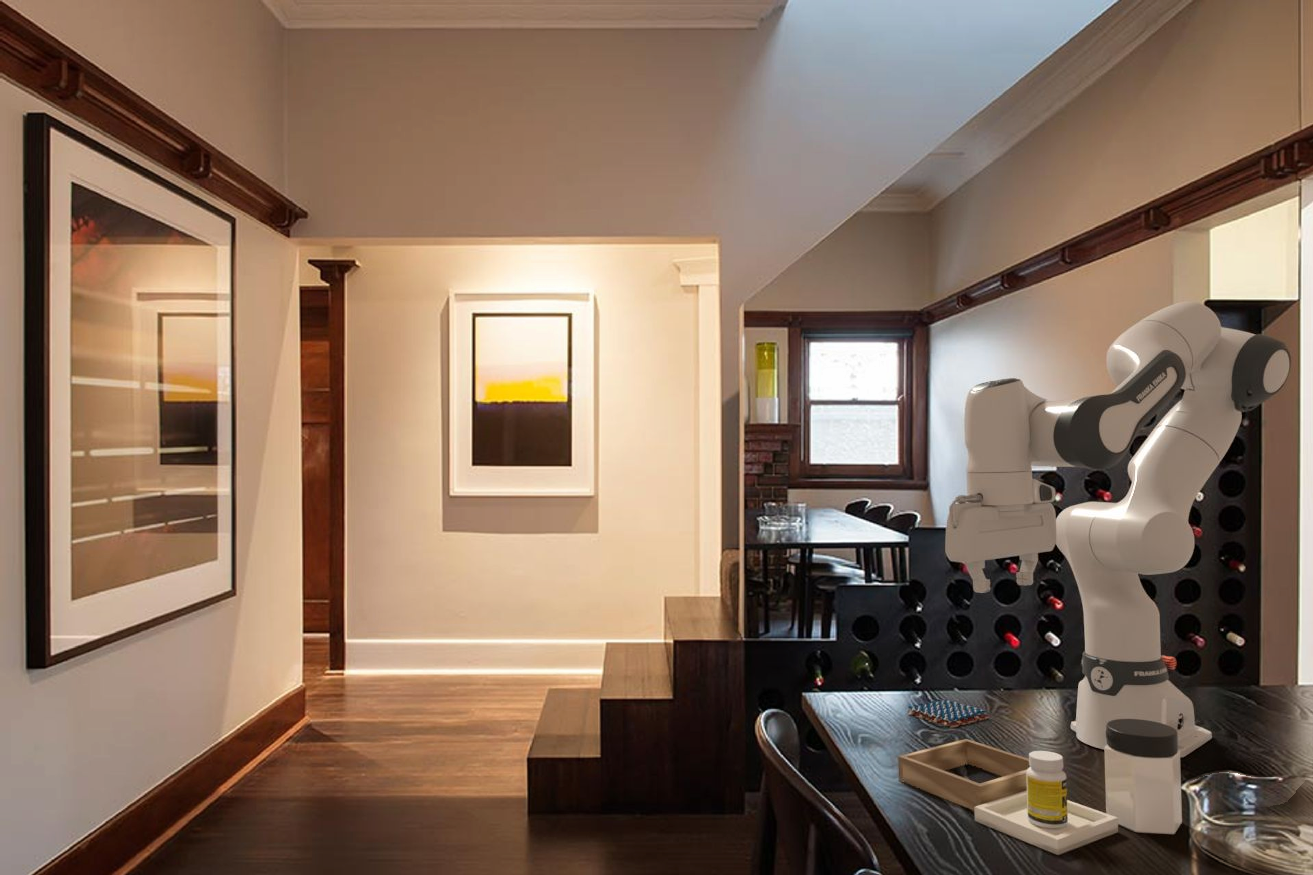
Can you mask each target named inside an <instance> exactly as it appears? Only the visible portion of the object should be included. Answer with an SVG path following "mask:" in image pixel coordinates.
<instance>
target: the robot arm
mask: <svg viewBox="0 0 1313 875" xmlns="http://www.w3.org/2000/svg"><path fill="white" fill-rule="evenodd" d="M1105 361H1106V362H1105V364H1106V369H1107V373H1108V376H1109V377H1110V379H1111V381H1112V382H1113V384H1114V385H1115V386H1116V387H1115V389H1113V390H1112V391H1111V392H1109V393H1107V394H1099V395H1092V396H1091V395H1090V396H1087V397H1086V396H1085V397H1081V398H1073V399H1072V398H1068V399H1061V400H1059V399H1058V400H1048V399H1047V398H1044V397H1041V396H1039V395H1037V394H1035V393H1034V392H1032V391H1030V390H1029V388H1027V387H1026V386H1025V385H1024V383H1023V380H1021V379H1020V378H1015V377H1011V378H1001V379H998V380H991V381H990V380H989V381H986V382H982V383H979V384H976V385H974V386H972V387H971V389H969V391H968V393H967V395H966V400H965V406H964V420H963V421H964V425H963V426H964V428H963V429H964V444H965V447H966V449H967V455H968V458H967V459H968V460H967V464H966V470H965V471H966V492H967V493H966V494H967V495H965V494H960V495H957V496H956V497H955V499H954V500H952V502H951V503H950V505H949V506H948V507H949V508H948V515H947V519H946V524H945V526H946V527H945V539H944V540H945V541H944V542H945V543H944V544H945V545H944V546H945V548H944V549H945V552H944V553H945V554H946V557H947V558H948V560H949V561H950V562H955V563H965V569H966V571H967V572H968V574H969V576H970V578H971V579H972V588H973V591H974V592H975V593H980V594H984V593H988V592H990V591H991V586H990V585H991V579H988V578H986V575H985V573H984V571H983V569H985V568H986V563H985V562H986V561H990V560H996V559H1003V558H1004V559H1005V558H1010V557H1018V556H1019V561H1021V565H1020V568H1019V571H1018V572H1015V576H1016V577H1015V578H1016V580H1015V581H1016V583H1017V584H1016V585H1018V586H1031V585H1032V586H1033V584H1034V572H1035V570H1036V566H1037V564H1038V562H1039V554H1040V553H1047V552H1052V551H1054V548H1055V546H1057V548H1058V549H1059V551H1060V552H1061V553H1062V555H1063V556H1064V557H1065V558H1066V560H1067V562H1068V564H1069V566H1070V568H1071V571H1072V573H1073V577H1074V578H1075V579H1074V580H1075V581H1076V584H1077V587H1078V591H1079V592H1078V593H1079V595H1080V599H1081V604H1082V610H1083V628H1084V630H1083V631H1084V651H1083V652H1082V659H1081V666H1082V674H1083V675H1084V677H1083V679H1082V680H1080V681H1079V682H1078V688H1077V698H1076V699H1077V701H1076V713H1075V714H1076V716H1075V717H1076V718H1075V720H1074V721H1071V723H1070V729H1071V730H1072V731H1073V732H1075V733H1076V738H1077V739H1078V740H1079V741H1080V742H1082V743H1084V744H1086V745H1089V746H1091V747H1093V748H1098V749H1100V750H1104V751H1105V749H1104V748H1105V746H1106V745H1107V738H1106V724H1107V723H1108V722H1109V721H1112V720H1116V719H1140V720H1148V721H1154V722H1158V723H1162V724H1165V725H1168V726H1170V727H1172V728H1174V729H1175V730H1176V731H1177V733H1178V749H1179V750H1180V758H1184V757H1187V755H1189V754H1191V753H1192V752H1194V751H1195V750H1196V749H1198V748H1200V747H1202V746H1203V745H1204V744H1206V743H1207V742H1208V741H1211V739H1212V738H1213V736H1212V735H1213V734H1212V731H1210V730H1208V729H1206V728H1204V727H1202V726H1198V725H1196V721H1195V719H1196V718H1195V708H1194V704H1193V702H1192V700H1191V699H1190V698H1189V697H1188V696H1187V695H1186V694H1185V693H1183V692H1182V691H1181V690H1180V689H1178V687H1176V686H1175V685H1174V684H1173V683H1172V682H1171V681H1170V680H1169V679H1170V677H1169V672H1168V669H1169V670H1175V669H1176V667H1177V659H1176V658H1175V657H1174V656H1166V655H1164V654H1163V655H1162V654H1161V651H1162V650H1161V649H1162V647H1161V623H1160V622H1161V619H1160V617H1161V616H1160V611H1159V608H1158V606H1157V605H1156V603H1155V602H1154V601H1153V599H1151V597H1150V596H1149V595H1148V594H1147V592H1146V590H1145V589H1144V587H1143V585H1142V583H1141V580H1140V576H1139V575H1143V576H1145V575H1146V576H1150V575H1151V576H1152V575H1162V574H1170V573H1174V572H1177V571H1179V570H1181V569H1182V568H1184V567H1185V566H1186V565H1187V564H1188V563H1189V561H1190V560H1191V558H1192V556H1193V553H1194V549H1195V544H1196V543H1195V535H1194V531H1193V528H1192V527H1191V525H1190V523H1189V516H1190V513H1191V509H1192V507H1193V503H1194V501H1195V500H1196V498H1197V496H1198V494H1199V492H1201V490H1202V488H1204V486H1205V484H1206V482H1207V481H1208V479H1209V478H1210V477H1211V475H1212V474H1214V473H1213V472H1214V471H1215V470H1216V468H1217V467H1218V466H1219V465H1220V462H1221V461H1222V459H1223V458H1224V457H1225V455H1226V453H1228V451H1229V449H1230V447H1231V445H1232V443H1233V442H1234V440H1235V437H1236V435H1237V433H1238V431H1239V428H1240V426H1241V422H1242V420H1243V419H1242V418H1243V417H1242V416H1243V415H1242V413H1245V412H1251V411H1253V410H1255V409H1256V408H1257V407H1258V406H1260V405H1261V404H1263V403H1266V402H1267V401H1269V400H1270V399H1271V398H1273V397H1274V396H1275V395H1277V393H1279V392H1280V391H1281V389H1282V388H1283V387H1284V385H1285V384H1286V382H1287V380H1288V377H1289V374H1290V371H1291V365H1292V358H1291V353H1290V351H1289V349H1288V346H1287V345H1286V343H1284V342H1283V341H1281V340H1279V339H1277V338H1275V337H1273V336H1269V335H1267V334H1262V333H1258V334H1254V333H1251V332H1249V331H1244V330H1239V329H1234V328H1230V327H1229V328H1228V327H1224V326H1222V325H1221V322H1220V319H1219V318H1218V316H1217V315H1216V313H1215V312H1214V311H1213V310H1212V309H1211V308H1210V307H1208V306H1206V305H1205V304H1202V303H1200V302H1197V301H1192V300H1191V301H1190V300H1189V301H1188V300H1187V301H1186V300H1185V301H1180V302H1177V303H1173V304H1171V305H1168V306H1166V307H1164V308H1161V309H1159V310H1157V311H1155V312H1153V313H1151V314H1150V315H1148V316H1146V317H1144V318H1142V319H1141V320H1139V321H1138V322H1137V323H1135V324H1134V325H1132V326H1130V327H1129V328H1127V330H1125V331H1124V332H1122V333H1121V334H1120V335H1119V336H1118V337H1117V338H1116V339H1115V340H1114V341H1113V342H1112V344H1111V345H1110V346H1109V348H1108V349H1107V351H1106V359H1105ZM1180 390H1184V392H1183V396H1182V397H1181V398H1182V399H1181V400H1179V401H1178V402H1177V403H1176V404H1175V405H1174V406H1173V407H1171V409H1169V411H1168V412H1167V413H1166V414H1165V415H1164V416H1163V417H1162V418H1161V420H1160V421H1159V422H1158V423H1157V425H1155V427H1154V428H1153V430H1152V431H1151V432H1150V433H1149V434H1148V436H1147V438H1146V439H1145V440H1144V441H1143V443H1142V444H1141V445H1140V447H1139V448H1138V449H1137V451H1136V452H1135V454H1134V455H1133V456H1132V458H1131V459H1130V461H1129V462H1128V465H1127V474H1128V477H1129V479H1130V481H1131V484H1130V487H1129V489H1128V491H1127V494H1126V495H1125V496H1124V497H1123V498H1122V499H1121V500H1120V501H1118V502H1103V501H1086V502H1082V503H1078V504H1075V505H1070V506H1068V507H1066V508H1064V509H1063V510H1062V511H1061V512H1060V513H1059V514H1058V515H1057V514H1056V509H1055V507H1054V504H1052V502H1054V501H1055V500H1056V488H1055V487H1054V486H1053V485H1052V486H1051V485H1049V484H1047V483H1044V482H1042V481H1040V480H1038V479H1036V478H1033V470H1032V467H1051V468H1054V467H1055V468H1058V467H1059V468H1063V467H1065V468H1066V467H1067V468H1071V467H1072V468H1081V469H1092V470H1106V469H1109V468H1112V467H1114V466H1116V465H1117V464H1118V463H1119V462H1121V460H1122V459H1123V458H1124V457H1125V456H1126V454H1127V453H1128V451H1129V450H1130V448H1131V445H1132V444H1133V443H1134V440H1135V439H1136V437H1137V436H1138V434H1139V433H1140V431H1141V430H1142V429H1143V428H1144V427H1145V426H1146V425H1147V424H1149V422H1150V421H1151V420H1152V419H1153V418H1154V417H1155V416H1156V415H1157V414H1158V413H1159V412H1160V411H1161V410H1162V409H1163V408H1164V407H1165V406H1166V405H1167V404H1168V403H1170V401H1171V400H1172V399H1173V398H1174V397H1175V396H1176V395H1177V394H1178V393H1179V391H1180ZM1056 515H1057V517H1056Z"/></svg>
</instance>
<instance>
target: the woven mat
mask: <svg viewBox="0 0 1313 875" xmlns="http://www.w3.org/2000/svg"><path fill="white" fill-rule="evenodd" d="M908 709H910V710H908V712H907V713H908V715H909V716H911V717H912V716H913V717H914V716H915V717H916V718H919V719H921V720H922V719H924V720H925V721H928V722H930V723H931V722H933V723H935V724H939V725H943V726H945V727H949V728H956V727H960V726H965V725H968V724H971V723H976V722H979V721H983V720H987V719H989V714H987V710H985V709H981V708H978V707H974V706H973V705H972V706H970V705H968V704H962V703H960V702H958V703H957V702H956V701H953V700H951V701H950V700H948V699H944V700H943V699H941V698H940V699H937V701H936V700H932V701H931V702H929V701H926V702H925V703H920V705H918V704H915V705H914V706H911V705H909V706H908Z"/></svg>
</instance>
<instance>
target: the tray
mask: <svg viewBox="0 0 1313 875" xmlns="http://www.w3.org/2000/svg"><path fill="white" fill-rule="evenodd" d="M974 809H975V811H974V822H977V823H978V824H981V825H984V826H986V827H989V828H991V829H993V830H995V831H998V832H1001V833H1003V834H1005V835H1008V836H1010V837H1013V838H1016V839H1017V840H1020V841H1023V842H1024V843H1028V844H1030V845H1032V846H1035V847H1036V848H1039V849H1042V850H1044V851H1047V852H1049V853H1052V854H1055V855H1057V856H1060V855H1062V854H1065V853H1067V852H1070V851H1073V850H1075V849H1077V848H1078V849H1079V848H1080V847H1084V846H1087V845H1088V844H1092V843H1093V842H1096V841H1098V840H1101V839H1103V838H1106V837H1110V836H1112V835H1114V834H1116V833H1119V824H1118V817H1115V816H1112V815H1109V814H1106V812H1103V811H1100V810H1097V809H1094V808H1091V807H1089V806H1086V805H1083V804H1080V803H1077V802H1074V801H1071V800H1069V799H1067V813H1068V823H1067V825H1066V826H1065V827H1063V828H1058V829H1051V828H1043V827H1039V826H1036V825H1034V824H1032V823H1031V822H1030V821H1029V820H1028V818H1027V790H1026V791H1023V792H1020V793H1017V794H1014V795H1011V796H1007V797H1004V798H1001V799H998V800H995V801H992V802H988V803H985V804H982V805H979V806H976V807H974Z"/></svg>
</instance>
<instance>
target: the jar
mask: <svg viewBox="0 0 1313 875" xmlns="http://www.w3.org/2000/svg"><path fill="white" fill-rule="evenodd" d="M1106 738H1107V745H1106V746H1105V748H1104V749H1105V750H1104V749H1103V750H1104V779H1105V780H1104V782H1105V785H1104V786H1105V809H1106V810H1105V813H1106V814H1109V815H1112V816H1115V817H1118V826H1121V827H1123V828H1126V829H1127V830H1130V831H1132V832H1134V833H1140V834H1141V833H1142V834H1159V835H1175V834H1176V832H1177V831H1178V829H1179V828H1180V826H1181V824H1182V823H1183V816H1182V814H1183V813H1182V811H1183V809H1182V808H1183V807H1182V782H1181V781H1182V779H1181V778H1182V775H1181V774H1182V773H1181V757H1180V750H1179V749H1178V733H1177V731H1176V730H1175V729H1174V728H1172V727H1170V726H1168V725H1165V724H1162V723H1158V722H1154V721H1148V720H1140V719H1116V720H1112V721H1109V722H1108V723H1107V724H1106Z"/></svg>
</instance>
